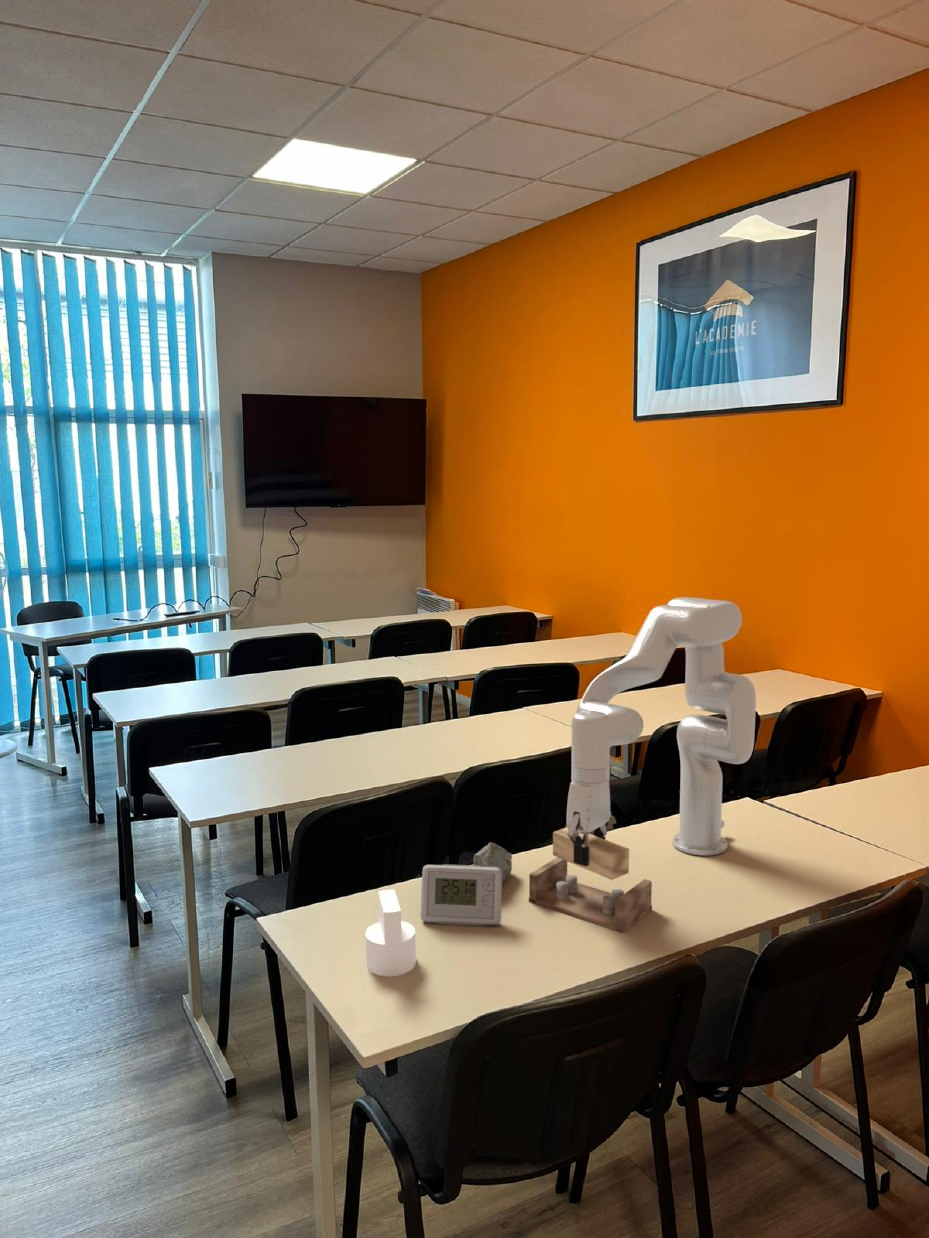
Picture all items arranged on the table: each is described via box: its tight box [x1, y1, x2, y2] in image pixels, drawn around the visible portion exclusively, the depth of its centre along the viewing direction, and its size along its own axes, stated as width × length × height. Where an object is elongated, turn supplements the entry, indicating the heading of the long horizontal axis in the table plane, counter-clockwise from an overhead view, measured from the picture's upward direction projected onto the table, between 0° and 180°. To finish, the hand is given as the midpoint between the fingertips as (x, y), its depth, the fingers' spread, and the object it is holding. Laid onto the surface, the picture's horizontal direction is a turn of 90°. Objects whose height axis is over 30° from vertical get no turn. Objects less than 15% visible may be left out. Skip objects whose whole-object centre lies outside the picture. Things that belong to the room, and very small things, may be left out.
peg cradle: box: [528, 857, 653, 933], centre depth 183 cm, size 12×22×6 cm, turn 51°
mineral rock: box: [472, 842, 513, 883], centre depth 193 cm, size 13×11×10 cm
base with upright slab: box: [364, 889, 417, 977], centre depth 162 cm, size 9×9×12 cm
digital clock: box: [420, 863, 503, 927], centre depth 178 cm, size 16×9×11 cm, turn 71°
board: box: [552, 826, 630, 881], centre depth 182 cm, size 5×16×5 cm, turn 40°
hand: (589, 858), depth 182 cm, fingers closed on board, 5 cm apart
